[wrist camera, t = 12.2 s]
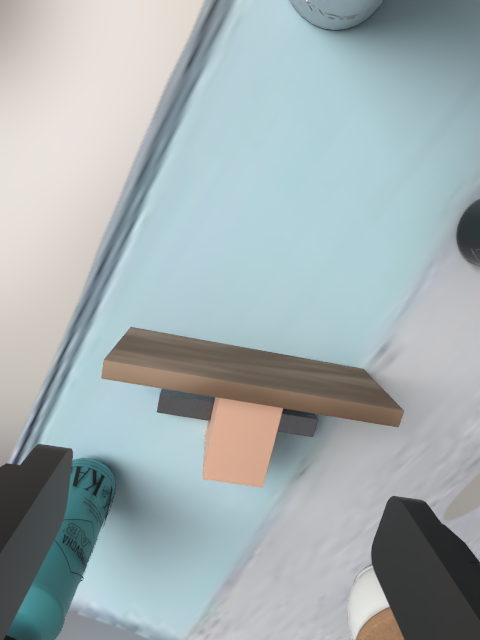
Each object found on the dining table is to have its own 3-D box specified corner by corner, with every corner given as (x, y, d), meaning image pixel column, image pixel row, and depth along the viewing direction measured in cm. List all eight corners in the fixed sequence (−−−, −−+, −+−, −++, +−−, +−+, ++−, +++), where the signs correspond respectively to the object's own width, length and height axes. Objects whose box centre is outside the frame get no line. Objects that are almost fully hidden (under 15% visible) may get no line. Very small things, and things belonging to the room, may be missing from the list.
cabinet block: (219, 366, 38) (219, 397, 32) (271, 375, 39) (283, 408, 32) (205, 435, 40) (202, 479, 34) (255, 443, 41) (262, 487, 34)
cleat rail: (162, 385, 39) (159, 394, 37) (313, 410, 40) (317, 419, 38) (159, 402, 39) (156, 412, 37) (308, 426, 41) (313, 436, 39)
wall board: (130, 327, 37) (103, 360, 28) (363, 368, 39) (404, 410, 31) (128, 341, 37) (101, 378, 29) (359, 381, 40) (398, 427, 31)
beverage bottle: (92, 509, 42) (-15, 756, 23) (45, 472, 40) (-112, 702, 21) (134, 474, 41) (60, 699, 22) (88, 434, 40) (-36, 638, 20)
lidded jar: (430, 596, 48) (480, 684, 39) (352, 627, 49) (383, 720, 39) (405, 534, 45) (452, 613, 36) (322, 568, 46) (348, 653, 37)
